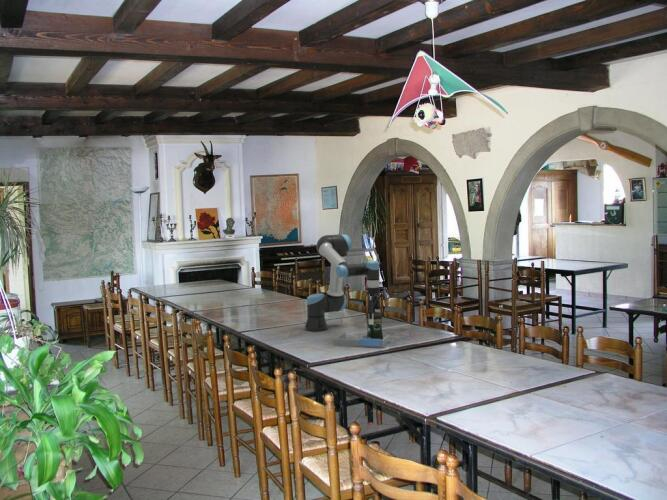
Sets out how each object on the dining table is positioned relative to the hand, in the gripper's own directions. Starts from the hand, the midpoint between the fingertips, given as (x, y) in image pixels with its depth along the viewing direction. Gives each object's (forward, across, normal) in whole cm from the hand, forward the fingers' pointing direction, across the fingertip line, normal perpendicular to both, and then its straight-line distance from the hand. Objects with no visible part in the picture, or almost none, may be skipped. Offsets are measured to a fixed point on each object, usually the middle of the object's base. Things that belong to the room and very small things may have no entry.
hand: (374, 322), depth 388 cm
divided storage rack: (+13, +2, -7) cm, 15 cm away
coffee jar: (+13, 0, 0) cm, 13 cm away
